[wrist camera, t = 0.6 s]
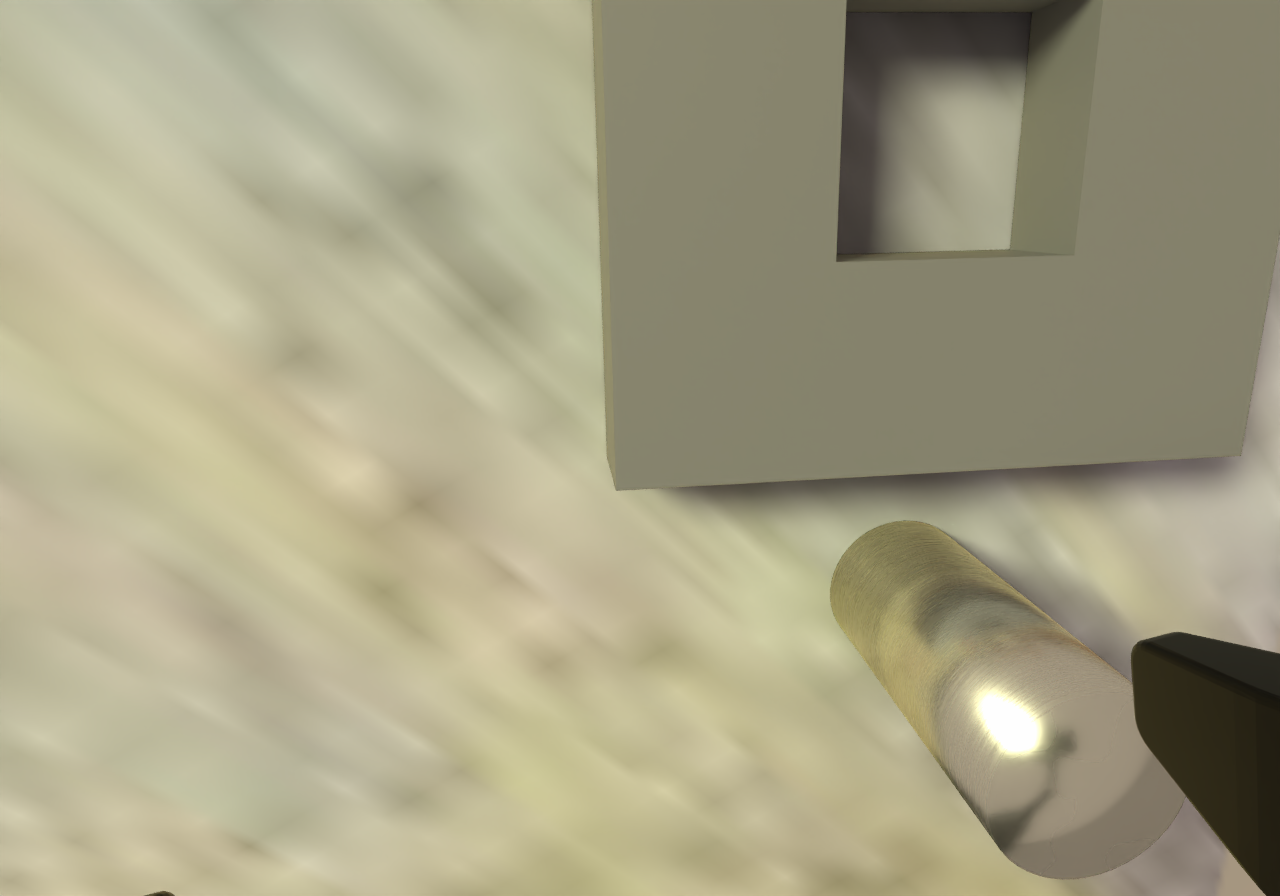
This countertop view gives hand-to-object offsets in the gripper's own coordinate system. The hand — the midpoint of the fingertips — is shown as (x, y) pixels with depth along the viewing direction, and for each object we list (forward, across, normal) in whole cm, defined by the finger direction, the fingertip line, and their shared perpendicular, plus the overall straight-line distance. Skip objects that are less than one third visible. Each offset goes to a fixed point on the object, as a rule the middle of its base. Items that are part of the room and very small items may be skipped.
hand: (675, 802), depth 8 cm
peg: (+13, -7, +5) cm, 15 cm away
